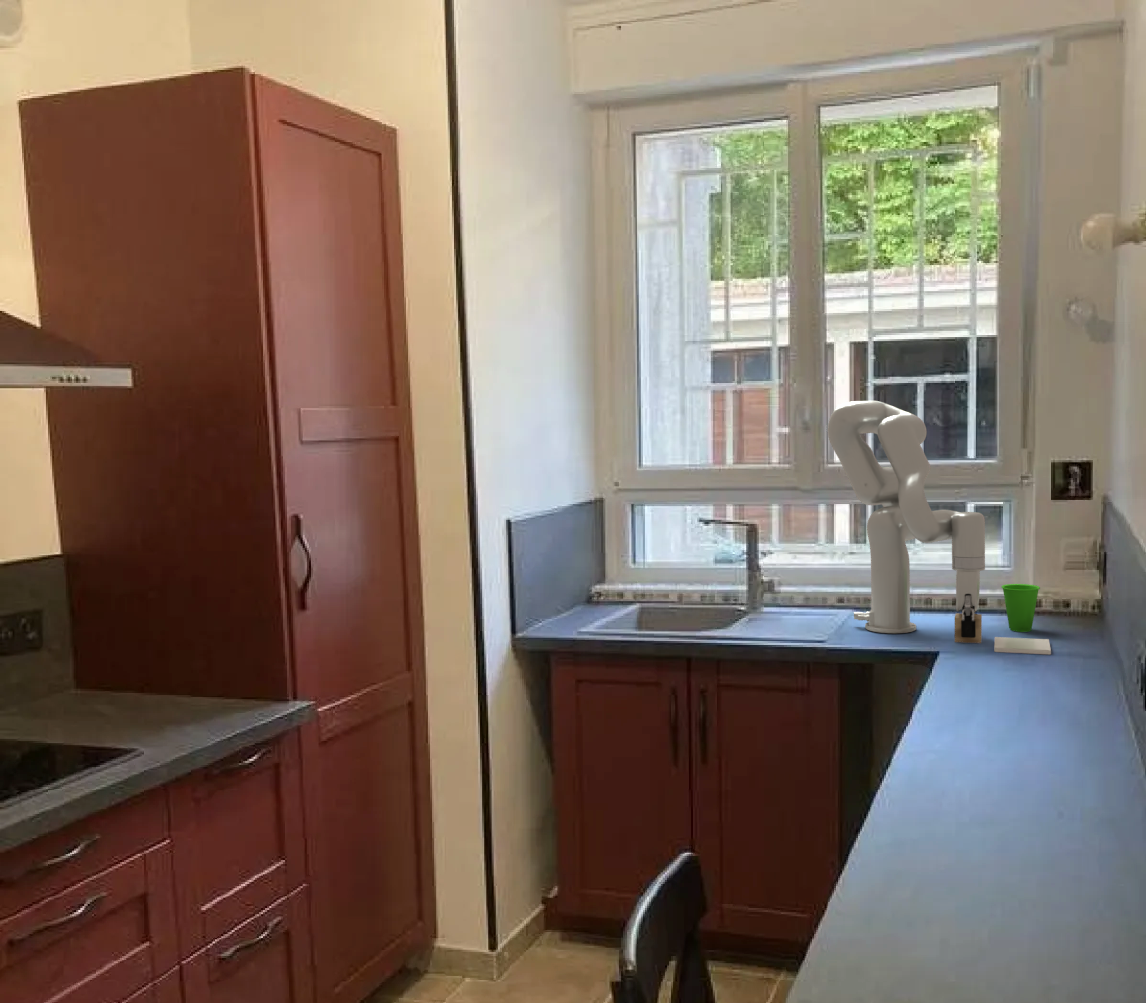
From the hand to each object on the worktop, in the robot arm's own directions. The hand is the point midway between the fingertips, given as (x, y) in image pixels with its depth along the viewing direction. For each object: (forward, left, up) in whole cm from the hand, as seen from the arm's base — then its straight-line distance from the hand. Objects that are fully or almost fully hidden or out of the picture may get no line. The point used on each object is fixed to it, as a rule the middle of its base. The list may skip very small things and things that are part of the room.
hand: (968, 633), depth 269 cm
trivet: (+12, -6, -2) cm, 13 cm away
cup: (+12, +15, -2) cm, 19 cm away
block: (0, 0, -2) cm, 2 cm away
